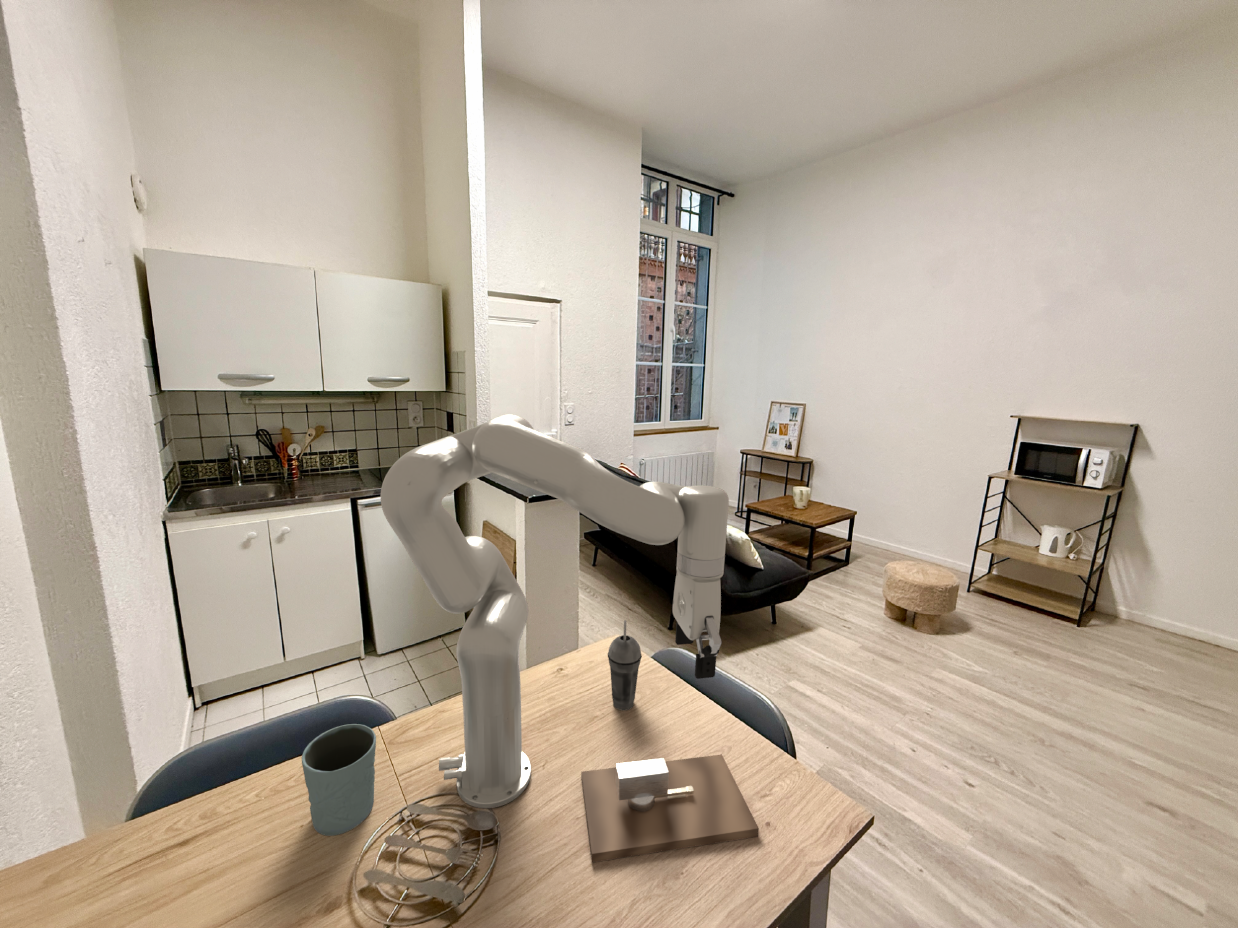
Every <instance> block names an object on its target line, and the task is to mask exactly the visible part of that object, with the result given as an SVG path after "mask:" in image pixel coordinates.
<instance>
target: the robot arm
mask: <svg viewBox="0 0 1238 928" xmlns="http://www.w3.org/2000/svg"><path fill="white" fill-rule="evenodd" d="M489 474H495V475H498V476H500V477H502V478H505V479H508V480H510V481H513V482H514V483H518V484H520V485H523V486H526V487H528V488H531V489H533V490H535V491H538V492H541V493H543V494H545V495H548V496H551V497H552V498H556V499H558V500H560V501H562V502H563V503H565V504H567V505H568V506H569V507H570V508H572V509H573V510H575V511H577V512H579V513H580V514H582V515H584V516H585V517H587V518H588V519H590V520H592V521H594V522H595V523H597V524H599V525H601V526H602V527H605V528H607V529H609V530H610V531H613V532H615V533H617V534H620V535H622V536H625V537H628V538H631V539H633V540H636V541H638V542H642V543H645V544H648V545H651V546H652V545H653V546H654V545H655V546H663V545H667V544H669V543H672V542H673V541H675V540H676V539H677V553H676V554H677V557H676V576H675V580H674V581H675V582H674V590H673V599H672V615H673V618H675V621H676V625H675V640H674V641H675V644H676V645H678V646H680V645H682V646H683V645H692V644H693V643H694V641H696V645H697V651H698V653H696V654H695V666H694V677H695V678H696V679H697V680H698V679H709V678H714V677H715V675H716V669H717V668H716V667H717V657H718V655H719V653H720V647H721V645H722V639H721V636H720V629H721V627H720V625H721V624H720V623H721V611H722V609H721V607H722V605H721V603H722V601H721V600H722V596H721V595H722V594H721V593H722V592H721V589H722V588H721V586H722V585H721V578H722V577H723V575H724V573H725V572H724V571H725V557H726V555H725V554H726V545H727V544H726V543H727V542H726V541H727V529H728V517H729V505H730V504H729V503H730V501H729V500H730V499H729V496H728V493H727V492H726V491H725V490H724V489H722V488H720V487H717V486H713V485H701V484H700V485H690V486H687V485H680V484H675V483H674V484H673V483H669V482H662V481H647V482H645V483H644V482H643V483H642V484H641V485H636V484H634V483H631V482H629V481H627V480H625V479H623V478H621V477H620V476H618V475H616V474H615V473H613V472H611V471H609V470H608V469H607V468H605V467H604V466H603V465H602V464H600V463H599V462H598V461H597V460H596V459H595V458H594V457H593V456H592V455H591V454H590V453H588V452H587V451H585V450H584V449H582V448H580V447H577V446H574V445H572V444H570V443H567V442H565V441H562V440H559V439H557V438H554V437H552V436H550V435H547V434H545V433H543V432H540V431H538V430H535V429H534V427H533V425H532V424H530V422H529V421H528V420H526V419H525V418H523V417H522V416H518V415H517V414H516V415H515V414H504V415H503V414H502V415H500V416H497V417H494V418H491V419H490V420H488V421H486V422H484V423H481V424H479V425H477V426H473V427H470V428H468V429H465V430H462V431H460V432H457V433H454V434H451V435H448V436H445V437H442V438H439V439H436V440H434V441H431V442H429V443H426V444H422V445H420V446H417V447H414V448H413V449H411V450H409V451H408V452H406V453H405V454H403V455H401V456H400V457H399V458H398V459H397V460H396V461H395V462H394V463H393V464H392V466H391V467H390V468H389V469H388V471H387V473H386V474H385V477H384V479H383V481H382V485H381V489H380V505H381V509H382V512H383V515H384V517H385V519H386V520H387V523H388V524H389V526H390V527H391V529H392V531H393V532H394V533H395V535H396V536H397V538H398V539H399V541H400V542H401V544H402V545H403V547H404V549H405V550H406V552H407V554H408V556H409V558H410V560H411V561H412V563H413V565H414V567H415V569H416V570H417V573H419V575H420V577H421V579H422V580H423V582H424V584H425V586H426V587H427V589H428V590H429V592H430V595H432V598H433V600H435V602H436V604H438V606H439V607H441V608H442V610H444V611H446V612H448V613H451V614H454V615H455V614H458V615H459V614H463V613H467V612H468V611H470V610H472V609H473V610H472V611H471V613H470V614H469V616H468V617H467V619H466V621H465V623H464V624H463V625H462V629H461V631H460V633H459V635H458V640H457V642H456V643H457V644H456V660H457V664H458V669H459V674H460V680H461V681H460V682H461V694H462V697H461V698H462V712H463V715H462V717H463V736H464V738H463V739H464V740H463V741H464V753H458V756H453V757H451V756H447V757H440V758H439V759H438V760H439V762H438V771H439V772H443V780H444V781H447V780H452V779H456V791H457V794H458V796H459V797H460V798H461V800H462V801H463V802H465V803H466V804H467V805H469V806H471V807H474V808H479V809H493V808H498V807H501V806H504V805H506V804H509V803H510V802H512V801H514V800H515V799H517V798H518V797H519V796H520V795H521V794H522V793H523V792H524V790H526V788H527V787H528V784H529V783H530V780H531V776H532V775H531V774H532V765H531V761H530V758H529V757H528V756H527V755H526V753H524V752H523V748H522V746H523V745H522V743H523V742H522V740H523V739H522V736H523V734H522V733H523V732H522V694H521V693H522V691H521V689H522V688H521V687H522V685H521V673H520V665H519V649H520V643H521V641H522V638H523V634H524V630H525V627H526V624H527V621H528V617H529V605H528V601H527V599H526V596H525V594H524V592H523V590H522V588H521V586H520V584H519V583H518V581H517V579H516V577H515V575H514V574H513V572H512V570H511V568H510V567H509V565H508V563H507V561H506V559H505V557H504V556H503V554H502V553H501V551H500V549H499V548H498V547H497V546H496V545H495V544H494V543H492V541H490V540H489V539H487V538H484V537H482V536H478V535H468V536H465V535H464V534H463V532H462V530H461V528H460V526H459V524H458V522H457V520H456V519H455V518H454V517H453V516H452V514H451V513H450V512H449V511H448V510H447V509H446V508H445V507H444V506H443V503H442V501H443V499H444V498H445V497H446V496H447V495H449V494H450V493H451V492H453V491H454V490H455V491H456V489H458V488H459V487H460V486H462V485H464V484H466V483H468V482H470V481H472V480H475V479H478V478H480V477H484V476H486V475H489ZM703 632H704V633H705V632H706V634H702V633H703ZM703 641H709V642H708V645H705V646H704V644H703Z"/></svg>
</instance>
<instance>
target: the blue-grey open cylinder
mask: <svg viewBox="0 0 1238 928" xmlns="http://www.w3.org/2000/svg"><path fill="white" fill-rule="evenodd" d="M376 744H377V735H376V733H375V731H374V730H373V729H372V728H371V727H369V726H367V725H365V724H359V723H358V724H357V723H351V724H344V725H340V726H339V725H338V726H335V727H333V728H331V729H329V730H326V731H324V732H322V733H320V734H319V735H318V736H316V737H315V738H313V740H311V741H310V742H309V743H308V744H307V746H306V747H305V748H304V750H303V752H302V755H301V766H302V771H303V775H304V781H305V785H306V789H307V792H308V802H309V803H310V807H309V811H310V816H311V822H312V826H313V829H314V830H315V831H316V832H317V833H318V834H320V835H323V836H327V837H330V836H332V837H333V836H338V835H341V834H345V833H347V832H349V831H351V830H354V828H356V827H358V826H359V825H360V824H362V823H363V822H364V820H366V819H367V817H368V816H369V815H370V813H372V809H373V806H374V802H375V777H376V776H375V774H376V773H375V772H376V769H375V762H376V758H375V757H376V746H377V745H376Z"/></svg>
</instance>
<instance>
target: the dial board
mask: <svg viewBox="0 0 1238 928" xmlns="http://www.w3.org/2000/svg"><path fill="white" fill-rule="evenodd" d="M665 763H666V766H667V769H668V772H669V777H668V790H669V789H677V788H684V787H686V786H692V787H693V790H694V794H689V795H688V794H683V795H676V796H668V797H661V798H655V801H654V805H653V807H652V808H651V809H650V810H648V811H645V812H639V811H636V810H634V809H632V808H631V807H630V805H629V804H628V799H626V800H619V799H618V794H617V789H616V766H615V767H607V768H599V769H593V770H585V771H581V772H580V773H581V774H580V775H581V776H580V778H581V786H582V795H583V803H584V810H585V819H586V827H587V835H588V843H589V851H590V852H589V853H590V858H591V863H597V862H603V861H610V860H615V859H622V858H623V859H624V858H627V857H628V858H630V857H636V856H643V855H648V854H654V853H659V852H661V853H662V852H667V851H668V852H669V851H675V850H680V849H686V848H692V847H699V846H700V847H701V846H706V845H713V844H718V843H724V842H731V841H737V840H743V839H750V838H758V837H759V832H760V831H759V830H760V828H759V826H758V824H757V821H756V820H755V818H754V816H753V813H752V812H751V810H750V807H749V806H748V804H747V801H746V800H745V798H744V796H743V794H742V791H741V790H740V788H739V786H738V784H737V782H736V779H735V778H734V776H733V773H732V772H731V770H730V768H729V766H728V764H727V762H726V760H725V758H724V756H723V754H713V755H707V756H705V755H704V756H699V757H698V756H697V757H690V758H682V759H674V760H673V759H671V760H665Z"/></svg>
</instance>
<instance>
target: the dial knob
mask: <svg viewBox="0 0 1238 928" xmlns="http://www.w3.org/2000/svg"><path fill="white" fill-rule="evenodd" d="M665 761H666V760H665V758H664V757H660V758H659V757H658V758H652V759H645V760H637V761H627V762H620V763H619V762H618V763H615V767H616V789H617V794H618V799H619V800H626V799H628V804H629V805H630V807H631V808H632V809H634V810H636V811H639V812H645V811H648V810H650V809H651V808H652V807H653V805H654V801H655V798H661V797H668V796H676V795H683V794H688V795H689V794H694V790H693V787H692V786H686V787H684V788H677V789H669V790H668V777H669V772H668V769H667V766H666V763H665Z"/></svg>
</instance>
